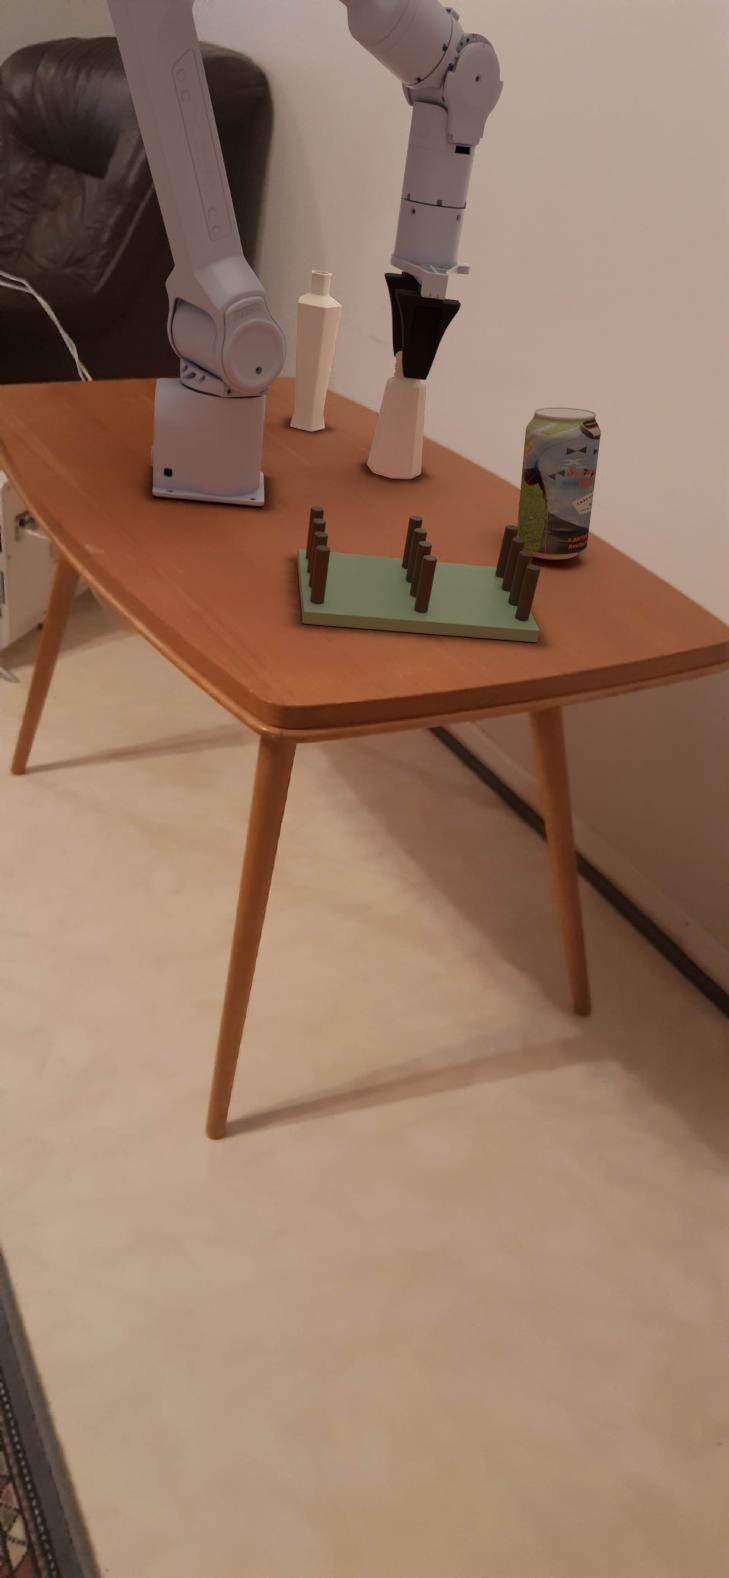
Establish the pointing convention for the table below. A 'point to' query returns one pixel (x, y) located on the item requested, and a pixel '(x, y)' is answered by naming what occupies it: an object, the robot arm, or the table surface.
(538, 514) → the beverage can
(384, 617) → the rack
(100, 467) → the table surface
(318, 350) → the perfume bottle
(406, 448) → the salt shaker
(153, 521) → the table surface
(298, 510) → the table surface
